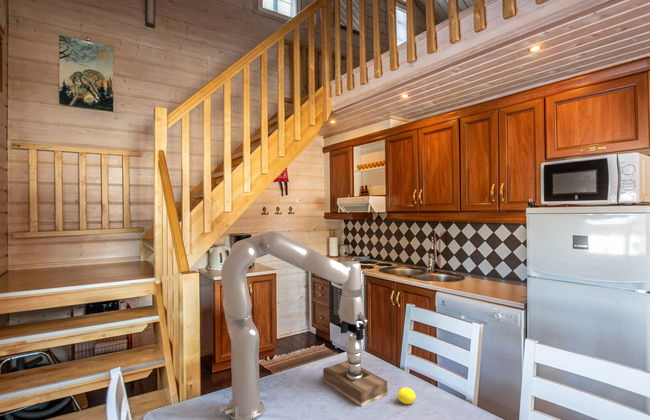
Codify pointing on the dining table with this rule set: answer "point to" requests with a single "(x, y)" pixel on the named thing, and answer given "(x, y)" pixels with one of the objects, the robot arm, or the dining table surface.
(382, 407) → the dining table surface
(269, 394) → the dining table surface
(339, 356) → the dining table surface
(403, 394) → the lemon
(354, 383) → the brown slotted block
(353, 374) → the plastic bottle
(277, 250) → the robot arm
